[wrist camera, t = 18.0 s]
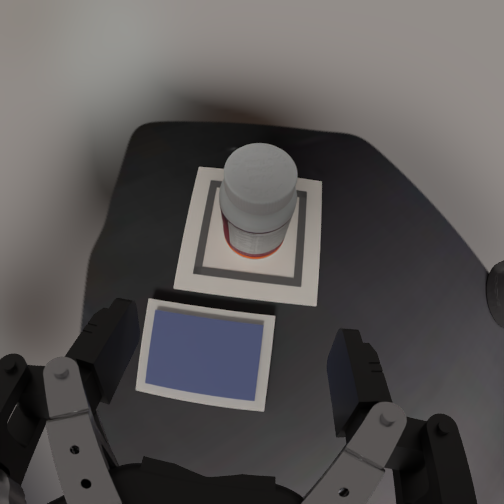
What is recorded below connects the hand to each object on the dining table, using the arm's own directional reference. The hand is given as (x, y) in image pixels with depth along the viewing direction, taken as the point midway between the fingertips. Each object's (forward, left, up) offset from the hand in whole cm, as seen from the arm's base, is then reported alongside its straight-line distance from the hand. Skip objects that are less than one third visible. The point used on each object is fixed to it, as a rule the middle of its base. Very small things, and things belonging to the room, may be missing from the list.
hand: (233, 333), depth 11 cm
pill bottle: (0, -11, -17) cm, 20 cm away
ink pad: (+3, +2, -17) cm, 18 cm away
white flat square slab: (0, -11, -17) cm, 21 cm away
